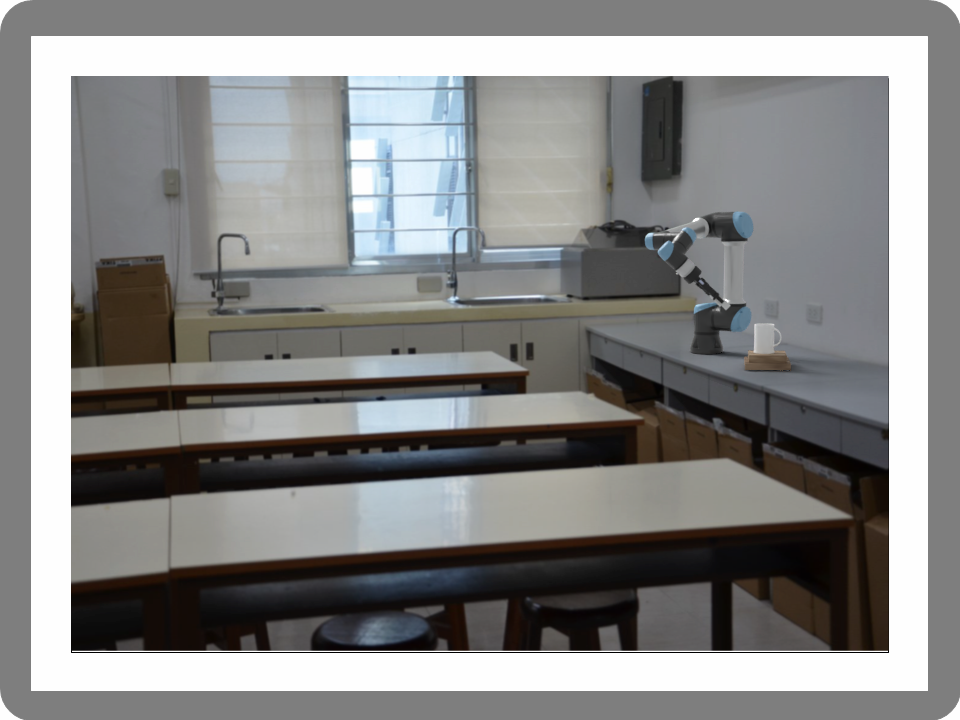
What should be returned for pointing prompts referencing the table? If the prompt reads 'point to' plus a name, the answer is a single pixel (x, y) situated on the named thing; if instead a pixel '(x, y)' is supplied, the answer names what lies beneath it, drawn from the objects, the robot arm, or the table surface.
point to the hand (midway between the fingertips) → (725, 306)
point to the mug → (765, 338)
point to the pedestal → (767, 361)
